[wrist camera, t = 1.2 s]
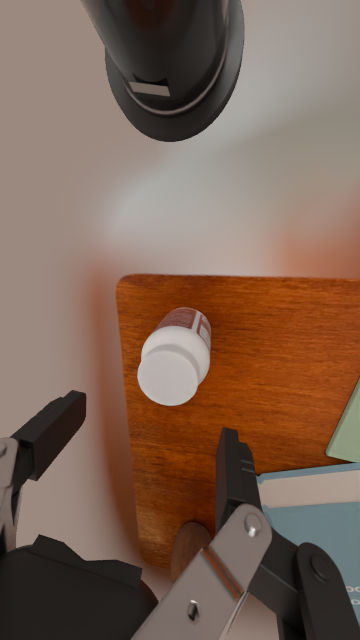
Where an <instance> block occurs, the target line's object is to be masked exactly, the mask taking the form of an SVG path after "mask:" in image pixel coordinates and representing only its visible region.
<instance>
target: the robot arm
mask: <svg viewBox="0 0 360 640" xmlns="http://www.w3.org/2000/svg"><path fill="white" fill-rule="evenodd" d="M80 1H81V3H82V4H83V6H84V8H85V10H86V12H87V14H88V16H89V18H90V19H91V21H92V23H93V25H94V27H95V29H96V30H97V32H98V34H99V36H100V38H101V40H102V41H103V44H104V46H105V47H106V50H107V51H108V53H109V55H110V57H111V59H112V61H113V63H114V65H115V66H116V68H117V70H118V72H119V75H120V77H121V80H122V82H123V84H124V86H125V88H126V90H127V91H128V93H129V95H130V96H131V98H132V99H133V101H134V102H135V103H136V104H137V105H138V106H139V107H140V108H141V109H142V110H144V111H145V112H147V113H149V114H151V115H153V116H156V117H160V118H175V117H179V116H182V115H185V114H187V113H189V112H191V111H192V110H194V109H195V108H196V107H198V106H199V105H200V104H201V103H202V102H203V101H204V100H205V99H206V98H207V97H208V95H209V94H210V93H211V91H212V90H213V88H214V87H215V85H216V83H217V81H218V79H219V77H220V74H221V72H222V69H223V66H224V62H225V59H226V53H227V46H228V28H229V24H228V1H229V0H80ZM85 417H86V394H85V393H83V392H78V391H74V390H72V391H70V392H69V393H68V394H67V395H66V396H65V397H64V398H62V397H60V398H57V399H55V400H53V401H51V402H50V403H49V404H48V405H46V406H45V407H44V408H43V410H41V411H40V412H38V413H37V414H36V416H34V417H33V418H31V419H30V420H29V421H28V422H27V423H26V424H24V426H22V427H21V428H20V429H19V430H18V431H17V432H15V433H14V434H13V435H12V436H11V437H9V438H1V439H0V640H225V639H226V636H227V635H228V633H229V631H230V629H231V627H232V625H233V623H234V621H235V619H236V617H237V615H238V613H239V611H240V609H241V607H242V605H243V603H244V601H245V599H246V597H247V595H248V593H249V592H250V593H251V594H252V595H253V596H255V597H256V598H257V599H258V600H260V601H261V602H262V603H263V604H264V605H266V606H267V607H268V608H269V609H271V610H272V611H273V612H274V613H276V617H277V625H278V633H279V640H360V626H359V623H358V620H357V617H356V615H355V612H354V609H353V606H352V603H351V600H350V598H349V595H348V592H347V589H346V586H345V584H344V581H343V578H342V575H341V573H340V571H339V569H338V567H337V566H336V564H335V562H334V561H333V560H332V558H331V557H330V556H329V555H328V554H327V553H326V552H325V551H324V550H323V549H321V548H320V547H319V546H317V545H315V544H313V543H310V542H304V543H301V544H300V545H299V547H298V546H297V545H295V544H294V543H292V542H291V541H289V540H288V539H286V538H285V537H283V536H282V535H280V534H279V533H278V532H277V531H276V530H274V528H273V527H272V526H271V525H270V523H269V521H268V519H267V517H266V516H265V515H264V513H263V510H262V506H261V500H260V495H259V489H258V484H257V478H256V474H255V467H254V462H253V456H252V452H251V451H250V449H249V447H248V446H247V444H246V443H242V442H239V439H238V432H237V430H234V429H230V428H226V427H223V429H222V432H221V436H220V440H219V444H218V448H217V454H216V536H215V538H214V539H213V540H212V542H211V543H210V544H209V546H208V547H203V548H202V549H201V550H200V551H199V552H198V553H197V554H196V556H195V557H194V558H193V560H192V561H191V562H190V563H189V565H188V566H187V567H186V569H185V570H184V571H183V572H182V574H181V575H180V576H179V578H178V579H177V580H176V581H175V583H174V584H173V585H172V587H171V588H170V589H169V591H168V592H167V593H166V594H165V596H164V597H163V598H162V599H161V601H160V602H158V600H157V598H156V597H155V595H154V593H153V592H152V590H151V589H150V588H149V587H148V586H147V585H146V584H145V583H144V582H143V581H142V580H141V574H142V568H140V567H137V566H134V565H131V564H128V563H124V562H121V561H118V560H96V561H86V560H83V559H82V558H81V557H80V556H79V555H77V554H76V553H75V552H74V551H73V550H72V549H71V548H69V547H68V546H67V545H66V544H65V543H64V542H61V541H58V540H55V539H52V538H49V537H46V536H43V535H40V534H39V535H38V537H37V539H36V540H35V542H34V543H33V545H26V546H22V547H19V548H16V531H17V524H18V517H19V510H20V503H21V496H22V490H23V486H22V485H23V484H24V483H25V482H26V481H27V479H31V480H34V481H38V479H39V478H40V477H41V476H42V474H43V473H44V472H45V471H46V469H47V468H48V467H49V466H50V464H51V463H52V462H53V460H54V459H55V458H56V457H57V455H58V454H59V453H60V452H61V451H62V449H63V448H64V447H65V446H66V444H67V443H68V442H69V441H70V440H71V438H72V437H73V436H74V435H75V433H76V432H77V431H78V430H79V428H80V427H81V426H82V424H83V422H84V420H85Z"/></svg>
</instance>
